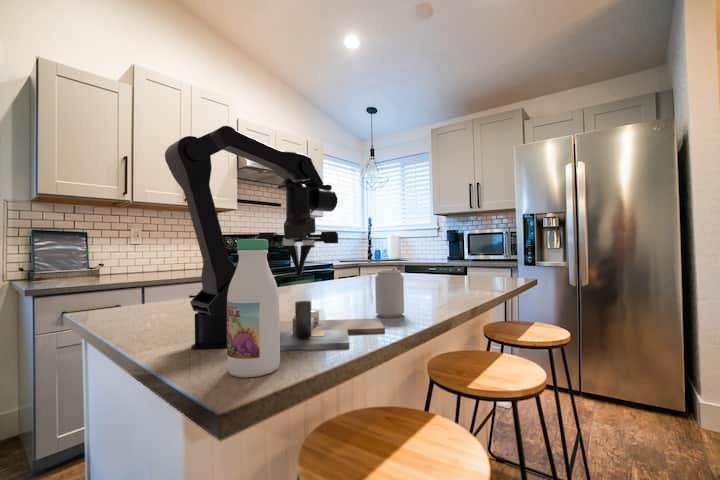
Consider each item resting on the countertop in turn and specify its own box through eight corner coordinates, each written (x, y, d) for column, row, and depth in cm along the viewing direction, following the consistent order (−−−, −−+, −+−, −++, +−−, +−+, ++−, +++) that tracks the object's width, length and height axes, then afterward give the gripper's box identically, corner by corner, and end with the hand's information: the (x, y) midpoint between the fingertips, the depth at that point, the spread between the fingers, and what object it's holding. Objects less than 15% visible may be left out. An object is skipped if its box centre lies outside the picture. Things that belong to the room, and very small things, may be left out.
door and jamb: (260, 351, 62) (259, 326, 62) (278, 325, 82) (278, 306, 82) (392, 346, 64) (392, 322, 64) (378, 322, 84) (378, 303, 84)
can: (403, 312, 95) (402, 269, 95) (404, 318, 88) (403, 271, 88) (376, 312, 96) (375, 269, 96) (375, 318, 88) (374, 271, 89)
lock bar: (304, 320, 80) (303, 292, 80) (319, 320, 80) (319, 292, 80) (292, 338, 65) (292, 303, 65) (312, 337, 65) (311, 303, 65)
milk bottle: (263, 357, 58) (262, 239, 59) (289, 368, 53) (288, 238, 53) (218, 370, 53) (217, 239, 53) (242, 383, 47) (241, 238, 48)
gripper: (250, 205, 74) (251, 278, 74) (337, 204, 75) (338, 276, 75) (261, 211, 85) (262, 274, 85) (337, 210, 86) (338, 272, 86)
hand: (299, 274), depth 82 cm, fingers closed
